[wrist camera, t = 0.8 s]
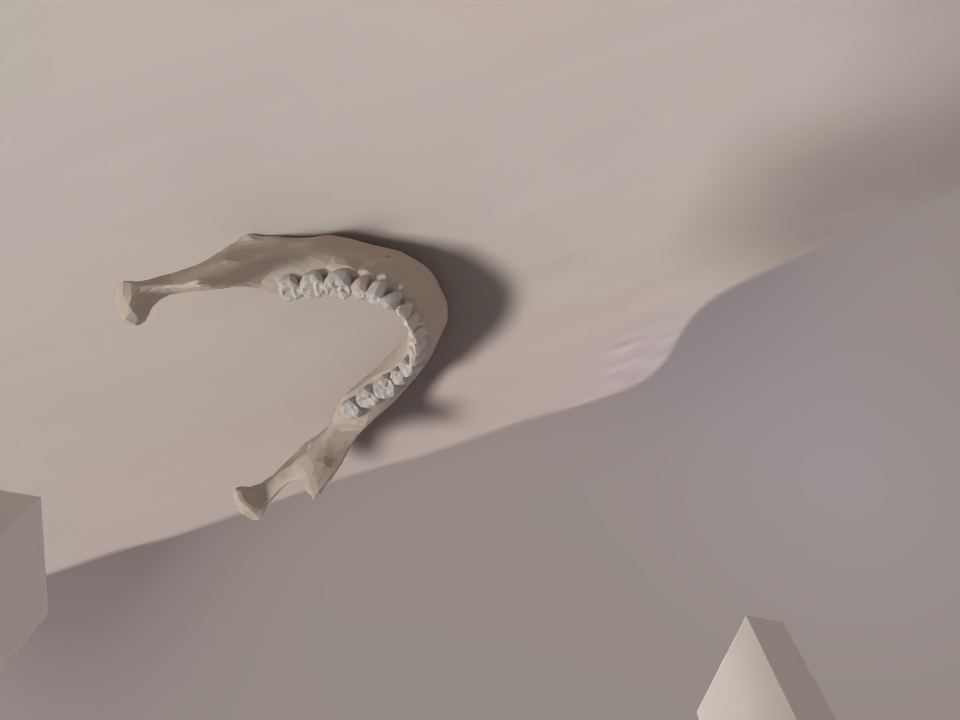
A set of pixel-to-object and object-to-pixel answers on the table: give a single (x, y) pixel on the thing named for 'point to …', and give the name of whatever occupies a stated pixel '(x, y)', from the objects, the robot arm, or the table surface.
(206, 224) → the table surface
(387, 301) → the anatomical model
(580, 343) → the table surface
